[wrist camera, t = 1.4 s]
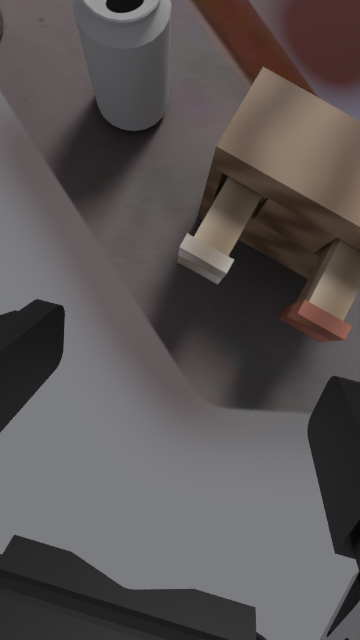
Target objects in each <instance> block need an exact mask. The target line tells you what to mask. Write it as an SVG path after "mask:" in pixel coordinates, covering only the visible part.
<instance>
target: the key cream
mask: <svg viewBox="0 0 360 640" xmlns="http://www.w3.org/2000/svg"><path fill="white" fill-rule="evenodd" d="M261 197H262V195H261V194H259V193H257V192H256V191H254V190H252V189H250V188H248V187H247V186H245V185H243V184H241V183H240V182H238V181H236V180H234V179H232V178H231V177H228V178H227V180H226V182H225V184H224V185H223V187H222V189H221V191H220V192H219V194H218V196H217V198H216V199H215V201H214V203H213V204H212V206H211V208H210V210H209V211H208V213H207V215H206V217H205V218H204V220H203V222H202V224H201V225H200V227H199V229H198V230H197V232H196V234H195V236H194V237H193V236H191V235H189V234H188V233H187V235H186V237H185V238H184V240H183V242H182V243H181V245H180V247H179V253H178V259H177V262H178V263H180V264H182V265H184V266H185V267H187V268H189V269H191V270H193V271H194V272H196V273H198V274H200V275H201V276H203V277H205V278H207V279H209V280H210V281H212V282H214V283H216V284H217V285H218V284H219V282H220V281H221V280H222V279H223V278H224V276H225V275H226V274H227V272H228V270H229V269H230V267H231V265H232V263H233V261H234V259H232V258H230V257H229V254H230V252H231V251H232V249H233V247H234V245H235V243H236V242H237V240H238V238H239V236H240V235H241V233H242V231H243V229H244V227H245V226H246V224H247V222H248V220H249V218H250V217H251V215H252V213H253V211H254V209H255V208H256V206H257V204H258V202H259V200H260V199H261Z"/></svg>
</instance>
